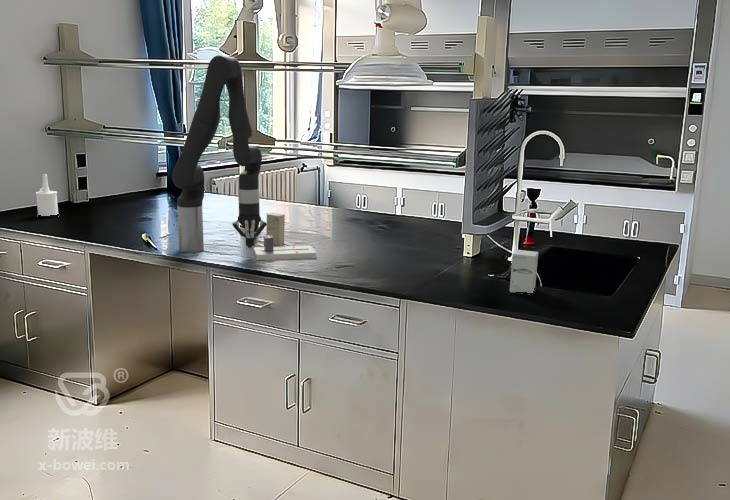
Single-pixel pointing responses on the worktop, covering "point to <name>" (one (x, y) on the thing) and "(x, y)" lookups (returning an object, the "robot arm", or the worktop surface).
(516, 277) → the supplement box
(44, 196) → the white nozzle bottle
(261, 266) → the worktop surface
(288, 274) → the worktop surface
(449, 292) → the worktop surface
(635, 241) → the worktop surface
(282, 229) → the skincare box
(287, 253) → the fader console
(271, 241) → the fader cap
